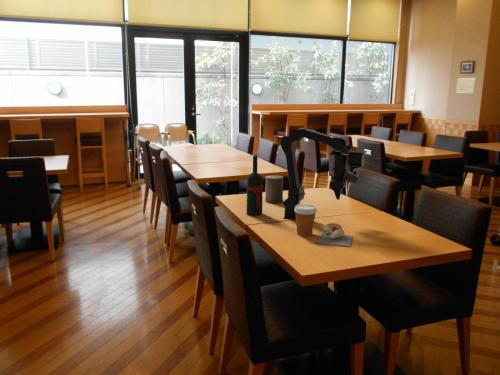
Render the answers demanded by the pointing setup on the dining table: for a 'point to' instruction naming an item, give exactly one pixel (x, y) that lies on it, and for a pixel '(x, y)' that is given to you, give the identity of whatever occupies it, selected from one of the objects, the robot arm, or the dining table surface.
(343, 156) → the robot arm
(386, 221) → the dining table surface
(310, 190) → the dining table surface
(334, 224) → the chocolate bunny
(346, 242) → the mat
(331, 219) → the dining table surface
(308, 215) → the disposable coffee cup
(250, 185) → the wine bottle
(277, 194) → the pillar candle
